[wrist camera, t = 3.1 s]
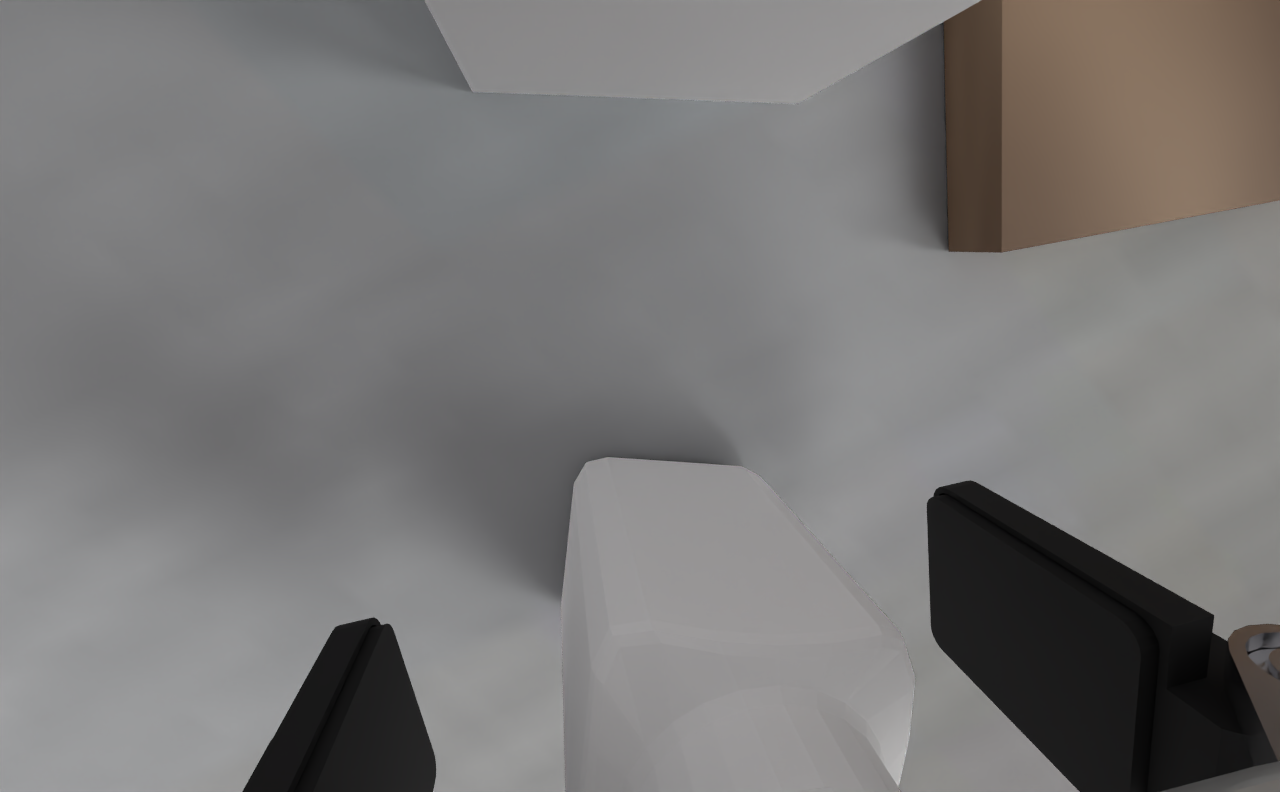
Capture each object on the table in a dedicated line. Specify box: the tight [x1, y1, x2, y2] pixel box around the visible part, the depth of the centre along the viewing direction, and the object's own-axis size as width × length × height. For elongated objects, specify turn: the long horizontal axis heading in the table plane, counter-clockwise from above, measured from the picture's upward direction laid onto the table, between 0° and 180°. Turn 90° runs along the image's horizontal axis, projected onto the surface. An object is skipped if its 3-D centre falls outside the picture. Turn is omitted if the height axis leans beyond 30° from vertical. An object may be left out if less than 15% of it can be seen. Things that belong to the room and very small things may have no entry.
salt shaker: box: [561, 457, 916, 792], centre depth 8 cm, size 4×4×10 cm
